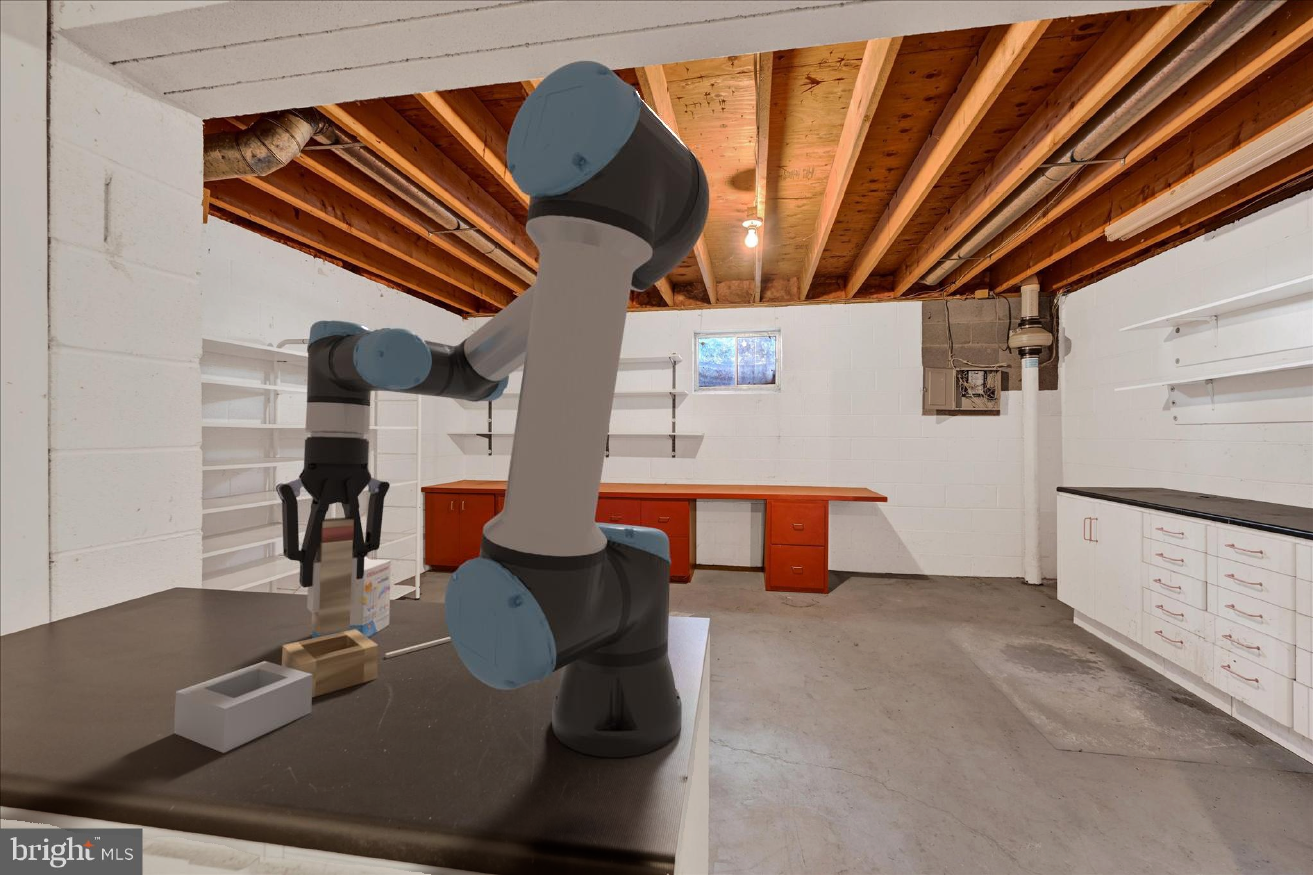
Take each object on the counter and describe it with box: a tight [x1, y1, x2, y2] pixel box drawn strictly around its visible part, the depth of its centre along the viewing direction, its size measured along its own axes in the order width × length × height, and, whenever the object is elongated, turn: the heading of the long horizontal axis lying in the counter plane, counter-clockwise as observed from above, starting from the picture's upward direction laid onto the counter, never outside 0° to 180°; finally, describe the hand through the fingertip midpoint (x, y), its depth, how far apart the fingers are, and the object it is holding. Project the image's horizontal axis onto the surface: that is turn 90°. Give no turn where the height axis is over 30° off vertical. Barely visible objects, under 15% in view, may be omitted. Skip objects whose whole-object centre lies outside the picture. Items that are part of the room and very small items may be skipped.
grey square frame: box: [173, 660, 313, 754], centre depth 59 cm, size 9×9×4 cm
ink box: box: [311, 556, 392, 639], centre depth 88 cm, size 9×8×13 cm
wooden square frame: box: [281, 629, 379, 698], centre depth 70 cm, size 9×9×4 cm
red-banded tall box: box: [310, 516, 354, 636], centre depth 71 cm, size 4×4×15 cm
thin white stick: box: [384, 636, 452, 659], centre depth 81 cm, size 1×10×1 cm, turn 138°
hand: (331, 606), depth 70 cm, fingers closed on red-banded tall box, 4 cm apart
